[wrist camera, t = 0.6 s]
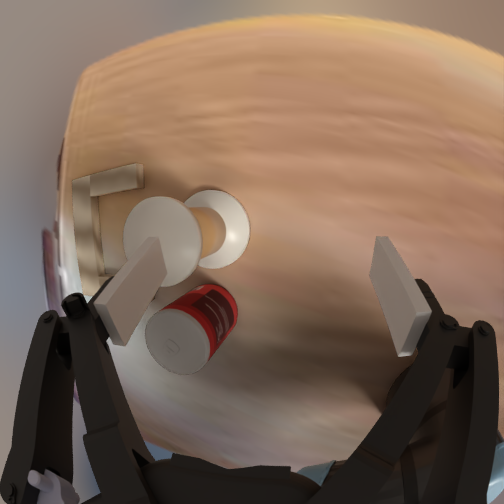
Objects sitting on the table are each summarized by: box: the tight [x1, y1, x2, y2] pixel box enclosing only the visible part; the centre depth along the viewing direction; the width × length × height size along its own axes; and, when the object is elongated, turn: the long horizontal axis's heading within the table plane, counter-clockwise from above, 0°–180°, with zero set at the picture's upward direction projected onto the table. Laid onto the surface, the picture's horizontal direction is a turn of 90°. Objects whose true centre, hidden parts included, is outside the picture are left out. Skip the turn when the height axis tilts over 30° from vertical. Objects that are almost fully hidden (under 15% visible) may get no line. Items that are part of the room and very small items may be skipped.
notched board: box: [72, 163, 155, 301], centre depth 40 cm, size 20×15×2 cm
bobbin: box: [123, 190, 250, 287], centre depth 30 cm, size 10×10×13 cm
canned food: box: [145, 284, 238, 375], centre depth 33 cm, size 8×8×11 cm
